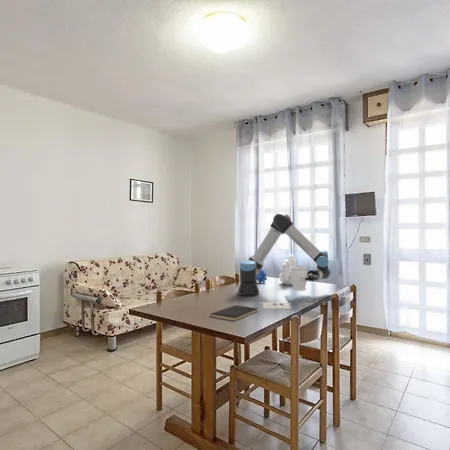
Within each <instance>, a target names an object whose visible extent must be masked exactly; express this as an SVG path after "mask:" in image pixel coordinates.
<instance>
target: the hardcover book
mask: <svg viewBox="0 0 450 450" xmlns="http://www.w3.org/2000/svg"><path fill="white" fill-rule="evenodd" d="M258 309H259V308H257V307H251V306H250V307H249V306H245V305H244V306H243V305H237V304H235V305H232V306H228V307H227V308H223V309H219V310H216V311H214V312H211V313H210V317H212V318H218V319H223V320H228V321H238V320H240V319H242V318H244V317H247V316H250V315H252V314H254V313H257V312H258Z"/></svg>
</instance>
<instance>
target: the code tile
mask: <svg viewBox="0 0 450 450" xmlns="http://www.w3.org/2000/svg"><path fill="white" fill-rule="evenodd" d="M261 303H262V309H263V310H291V309H292V308H291V306H290V304H289V302H288V301H287V302H285V301H283V302H282V301H281V302H278V301H277V302H272V301H271V302H269V301H268V302H264V301H262V302H261Z"/></svg>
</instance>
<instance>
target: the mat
mask: <svg viewBox="0 0 450 450" xmlns="http://www.w3.org/2000/svg"><path fill="white" fill-rule="evenodd" d="M284 296H285V299H286V301H287V302H288V303H314V302H315V301H314V299H313V297H311V296H310V295H307V294H306V295H291V294H290V295H288V294H287V295H286V294H285V295H284Z"/></svg>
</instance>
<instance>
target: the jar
mask: <svg viewBox="0 0 450 450" xmlns="http://www.w3.org/2000/svg"><path fill="white" fill-rule="evenodd" d="M307 269H308V267H307V266H306V265H305V266H304V265H296V266H293V267H291V282H292V285H291V286H292V290H293V291H298V292H301V291H306V290H307V289H306V288H307V287H306V285H307V282H308V281H304V282H301V277H306V276H307V273H308V271H307Z"/></svg>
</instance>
